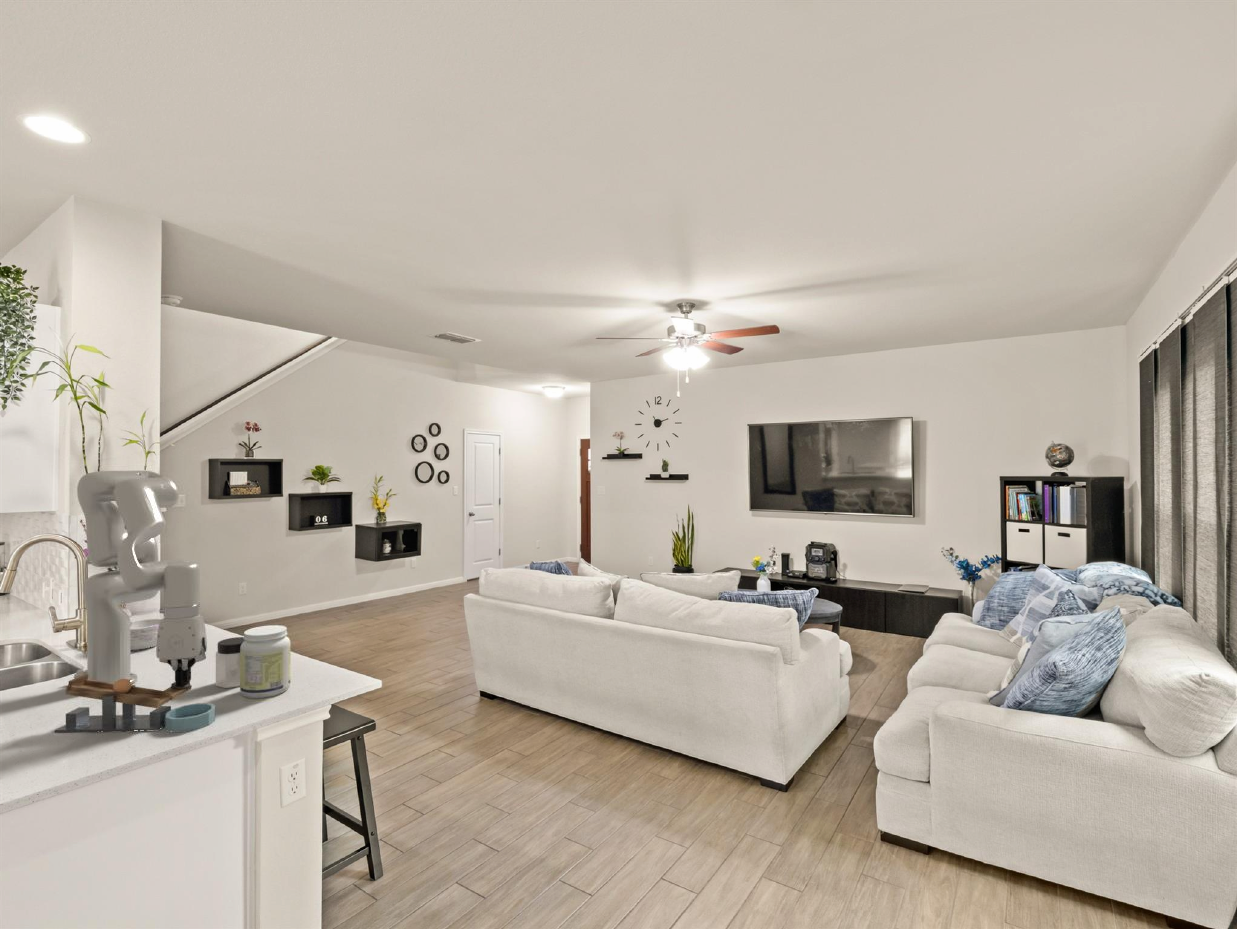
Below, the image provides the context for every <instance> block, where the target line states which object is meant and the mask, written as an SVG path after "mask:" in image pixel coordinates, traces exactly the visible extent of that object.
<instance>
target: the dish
mask: <svg viewBox="0 0 1237 929" xmlns="http://www.w3.org/2000/svg"><path fill="white" fill-rule="evenodd" d="M214 722H216V707H215V704H212V703H209V702H197V703H196V702H195V703H192V704H186V705H185V704H184V705H181V706H178V707H175V708H171V711H169V712H167V713H166V726H165V731H167V730H168V732H170V731H172V732H171V733H185V732H190V731H196V730H199V729H203V728H205V727H208V726H209V725H211V724H213V723H214Z"/></svg>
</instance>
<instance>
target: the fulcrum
mask: <svg viewBox="0 0 1237 929" xmlns="http://www.w3.org/2000/svg"><path fill="white" fill-rule="evenodd" d="M131 686H134V687H136V684H131ZM121 704H122V708H121V709H122V710H121V712H122V714H117V702H116V695H105V696H102V700H101V713H102V714H101V715H99V714H98V715H90V707H89V706H87V707H85V706H83V707H81V706H79V707H77V708H75V709H73V710H71V711H68V712H67V713H65V724H64V725H61V726H60V727H58V728H56V729H54V734H55V733H56V734H57V733H58V734H64V733H71V734H72V733H112V732H111V731H133V732H135V731H134V730H138V731H137V732H141V731H140V730H144V731H143V732H148V731H147V730H159V729H160V728H162V727H163V728H165V727H166V726H165V725H166V713H167V712H169V711H171V710H172V706H171V705H162V706H160V707H158V708H154V710H151V711H150V712H149V714H136V706H137V705H132V704H125V703H121ZM164 726H165V727H164ZM163 728H162V729H163ZM160 730H161V729H160ZM160 730H159V731H160ZM98 731H99V732H98ZM101 731H103V732H101ZM108 731H110V732H108Z"/></svg>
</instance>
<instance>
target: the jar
mask: <svg viewBox="0 0 1237 929" xmlns="http://www.w3.org/2000/svg"><path fill="white" fill-rule="evenodd" d="M243 637H244V636H235V637H230V638H225V639H221V640H220V641H218V642H217V651H216V652H215V686H216V687H220V688H223V689H231V688H237V687H240V647H241V644H242V643H243V642H244V641H245V640H244V639H243Z"/></svg>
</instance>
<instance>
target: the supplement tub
mask: <svg viewBox="0 0 1237 929" xmlns="http://www.w3.org/2000/svg"><path fill="white" fill-rule="evenodd" d="M287 629H288V628H287V627H286V626H285V625H277V624H275V625H270V624H269V625H262V626H256V627H252V628H249V629H247V630H245V631H244V632H243V636H242V637H243V639H244V640H245V641H244V642H243V643H242V644H241V647H240V686H239V687H240V688H239V693H240V694H241V696H242V697H245V698H249V699H266V698H270V697H271V698H272V697H275V696H277V695H281V694H282V693H284V692H286V691H288V689H290V687H291V682H292V681H291V645H292V643H291V640H290V638H289V637H288V636H287V635H288V631H287Z"/></svg>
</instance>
